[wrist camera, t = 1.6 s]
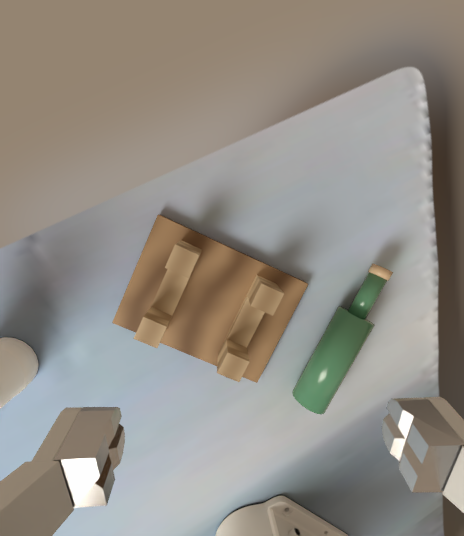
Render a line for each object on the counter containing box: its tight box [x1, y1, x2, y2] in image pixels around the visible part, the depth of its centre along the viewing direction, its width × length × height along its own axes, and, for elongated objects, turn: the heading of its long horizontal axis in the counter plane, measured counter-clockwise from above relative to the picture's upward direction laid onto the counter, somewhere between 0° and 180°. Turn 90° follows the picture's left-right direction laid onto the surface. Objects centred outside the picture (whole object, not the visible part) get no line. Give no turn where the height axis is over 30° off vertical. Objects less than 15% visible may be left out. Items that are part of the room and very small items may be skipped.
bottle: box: [293, 264, 393, 414], centre depth 41 cm, size 21×5×5 cm, turn 155°
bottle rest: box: [112, 215, 308, 383], centre depth 39 cm, size 22×16×6 cm
